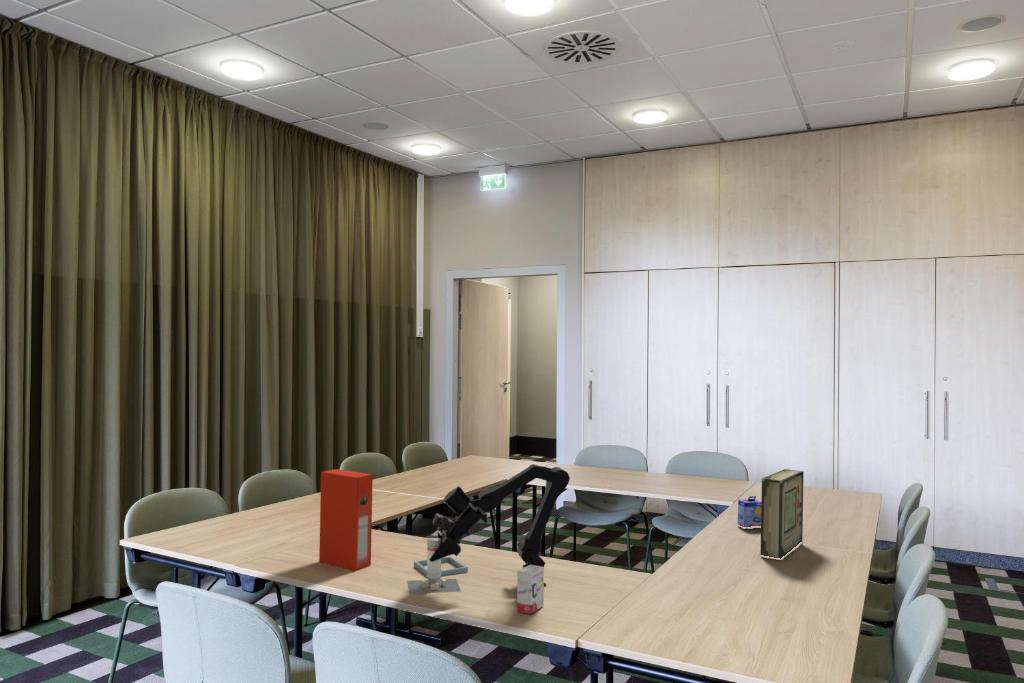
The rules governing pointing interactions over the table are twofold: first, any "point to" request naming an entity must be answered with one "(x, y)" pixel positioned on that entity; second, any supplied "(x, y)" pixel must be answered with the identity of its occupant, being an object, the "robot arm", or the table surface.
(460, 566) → the tray
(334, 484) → the file binder
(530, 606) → the ink box
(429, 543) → the white cylinder
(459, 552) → the robot arm
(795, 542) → the control panel
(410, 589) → the board
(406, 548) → the table surface
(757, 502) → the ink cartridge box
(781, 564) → the table surface
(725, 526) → the table surface
